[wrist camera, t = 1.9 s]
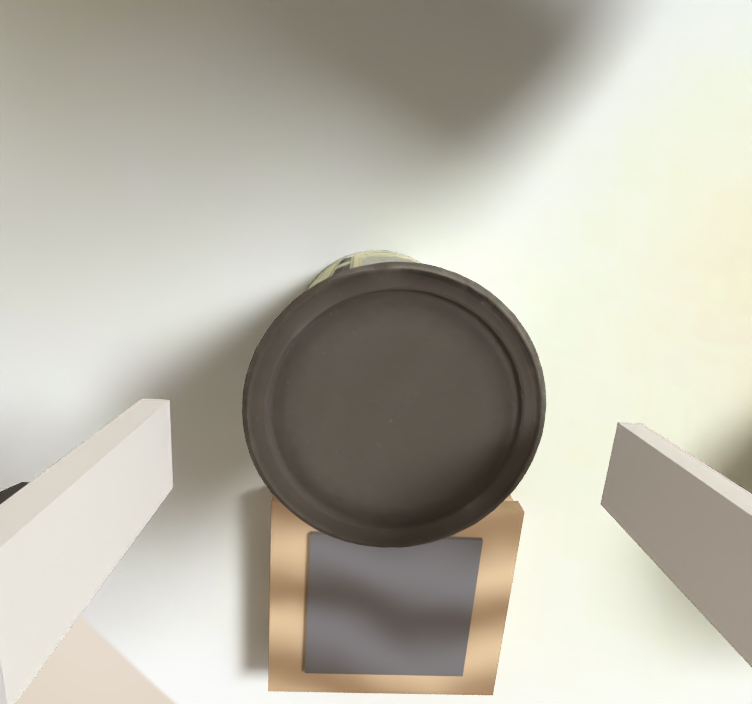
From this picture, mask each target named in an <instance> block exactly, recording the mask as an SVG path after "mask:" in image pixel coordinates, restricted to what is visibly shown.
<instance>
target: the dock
mask: <svg viewBox="0 0 752 704" xmlns="http://www.w3.org/2000/svg"><path fill="white" fill-rule="evenodd" d="M523 517H524V511H523V509H522V507H521V506H520V504H519V502H518V501H513V499H512V498H511V496H510V495H509V496H508V497H507V498H506V499H505V500H504V501H503V502H502V503H501V504H500V505H499V506H498V507H497V508H496V509H495V510H494V511H492V512H491V513H490V514H488V515H487V516H486V517H484V518H483V519H482V520H480V521H479V522H478V523H476V524H474V525H472V526H471V527H469V528H467V529H465V530H462V531H460V532H458V533H456V534H454V535H452V536H450V537H447V538H444V539H441V540H438V541H435V542H432V543H427V544H422V545H417V546H411V547H402V548H395V547H388V548H381V547H372V546H364V545H358V544H354V543H349V542H345V541H342V540H339V539H336V538H333V537H331V536H329V535H327V534H324V533H322V532H320V531H318V530H316V529H314V528H312V527H311V526H309V525H308V524H306V523H305V522H303V521H302V520H300V519H299V518H298V517H297V516H295V515H294V514H293V513H292V512H290V511H289V510H288V509H287V508H286V507H285V506H284V505H283V504H282V503H281V502H280V501H279V500H278V499H277V498H276V497H275V496H274V495H273V498H272V501H271V559H270V618H269V678H268V691H288V692H343V693H398V694H453V695H493V691H494V685H495V679H496V673H497V667H498V662H499V656H500V650H501V644H502V638H503V633H504V627H505V621H506V615H507V609H508V604H509V598H510V592H511V586H512V580H513V575H514V569H515V563H516V557H517V551H518V546H519V540H520V534H521V528H522V522H523Z"/></svg>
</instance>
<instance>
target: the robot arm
mask: <svg viewBox="0 0 752 704" xmlns="http://www.w3.org/2000/svg"><path fill="white" fill-rule="evenodd" d="M172 488H173V472H172V446H171V420H170V400H164V399H145V398H142V399H140V400H139V401H138V402H136V403H135V404H134V405H132V406H131V407H130V408H128V409H127V410H126V411H124V412H123V413H122V414H120V415H119V416H118V417H116V418H115V419H114V420H112V421H111V422H110V423H108V424H107V425H106V426H104V427H103V428H102V429H100V430H99V431H98V432H96V433H95V434H94V435H92V436H91V437H90V438H88V439H87V440H86V441H84V442H83V443H82V444H80V445H79V446H78V447H76V448H75V449H74V450H72V451H71V452H70V453H68V454H67V455H66V456H64V457H63V458H62V459H60V460H59V461H58V462H56V463H55V464H54V465H52V466H51V467H50V468H48V469H47V470H46V471H44V472H43V473H42V474H40V475H39V476H38V477H36V478H35V479H34V480H32V481H31V482H30V483H28V482H21V483H19V484H17V485H14V486H12V487H10V488H8V489H5V490H3V491H1V492H0V704H16V702H17V701H18V699H19V698H20V697H21V695H22V694H23V693H24V691H25V690H26V688H27V687H28V686H29V684H30V683H31V682H32V680H33V679H34V677H35V676H36V675H37V673H38V672H39V671H40V669H41V668H42V666H43V665H44V663H45V662H46V661H47V660H48V658H49V657H50V655H51V654H52V653H53V651H54V650H55V649H56V647H57V646H58V645H59V643H60V642H61V640H62V639H63V638H64V636H65V635H66V634H67V632H68V631H69V629H70V628H71V627H72V625H73V624H74V623H75V621H76V620H77V619H78V617H79V616H80V614H81V613H82V612H83V610H84V609H85V608H86V606H87V605H88V603H89V602H90V601H91V599H92V598H93V597H94V595H95V594H96V592H97V591H98V590H99V588H100V587H101V586H102V584H103V583H104V582H105V580H106V579H107V577H108V576H109V575H110V573H111V572H112V571H113V569H114V568H115V566H116V565H117V564H118V562H119V561H120V560H121V558H122V557H123V555H124V554H125V553H126V551H127V550H128V549H129V547H130V546H131V544H132V543H133V542H134V540H135V539H136V538H137V536H138V535H139V534H140V532H141V531H142V529H143V528H144V527H145V525H146V524H147V523H148V521H149V520H150V518H151V517H152V516H153V514H154V513H155V512H156V510H157V509H158V507H159V506H160V505H161V503H162V502H163V501H164V499H165V498H166V497H167V495H168V494H169V492H170V491H171V490H172ZM601 505H602V506H603V507H604V508H605V509H606V511H607V512H608V513H609V514H610V515H611V516H612V517H613V518H614V519H615V520H616V521H617V522H618V523H619V525H620V526H621V527H622V528H623V529H624V530H625V531H626V532H627V533H628V534H629V535H630V536H631V537H632V539H633V540H634V541H635V542H636V543H637V544H638V545H639V546H640V547H641V548H642V549H643V550H644V552H645V553H646V554H647V555H648V556H649V557H650V558H651V559H652V560H653V561H654V562H655V563H656V564H657V566H658V567H659V568H660V569H661V570H662V571H663V572H664V573H665V574H666V575H667V576H668V577H669V579H670V580H671V581H672V582H673V583H674V584H675V585H676V586H677V587H678V588H679V589H680V590H681V591H682V593H683V594H684V595H685V596H686V597H687V598H688V599H689V600H690V601H691V602H692V603H693V604H694V606H695V607H696V608H697V609H698V610H699V611H700V612H701V613H702V614H703V615H704V616H705V617H706V618H707V620H708V621H709V622H710V623H711V624H712V625H713V626H714V627H715V628H716V629H717V630H718V631H719V633H720V634H721V635H722V636H723V637H724V638H725V639H726V640H727V641H728V642H729V643H730V644H731V645H732V647H733V648H734V649H735V650H736V651H737V652H738V653H739V654H740V655H741V656H742V657H743V658H744V659H745V661H746V662H747V663H748V664H749V665H750V666H751V667H752V494H751V493H750V492H748V491H746V490H745V489H743V488H742V487H740V486H739V485H737V484H736V483H734V482H732V481H731V480H729V479H728V478H726V477H725V476H723V475H722V474H720V473H718V472H717V471H715V470H714V469H712V468H711V467H709V466H708V465H706V464H704V463H703V462H701V461H700V460H698V459H697V458H695V457H694V456H692V455H690V454H689V453H687V452H686V451H684V450H683V449H681V448H680V447H678V446H676V445H675V444H673V443H672V442H670V441H669V440H667V439H666V438H664V437H662V436H661V435H659V434H658V433H656V432H655V431H653V430H652V429H650V428H648V427H647V426H645V425H644V424H640V423H620V422H618V424H617V429H616V434H615V438H614V443H613V448H612V453H611V457H610V462H609V467H608V472H607V476H606V481H605V486H604V491H603V495H602V500H601Z"/></svg>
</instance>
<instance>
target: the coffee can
mask: <svg viewBox="0 0 752 704" xmlns="http://www.w3.org/2000/svg"><path fill="white" fill-rule="evenodd" d="M545 412H546V390H545V382H544V376H543V371H542V367H541V364H540V361H539V357H538V355H537V352H536V349H535V347H534V345H533V343H532V341H531V339H530V337H529V335H528V333H527V332H526V330H525V329H524V327H523V326H522V325H521V323H520V322H519V320H518V319H517V318H516V316H515V315H514V314H513V313H512V312H511V311H510V310H509V309H508V308H507V307H506V306H505V305H504V304H503V303H502V302H501V301H500V300H499V299H498V298H497V297H496V296H494V295H493V294H492V293H491V292H490V291H488V290H487V289H485V288H484V287H482V286H481V285H479V284H477V283H476V282H474V281H472V280H470V279H468V278H466V277H463V276H461V275H459V274H457V273H454V272H451V271H448V270H445V269H443V268H439V267H436V266H431V265H427V264H421V263H420V262H418V261H417V260H415V259H413V258H410V257H408V256H405V255H403V254H399V253H395V252H391V251H385V250H381V251H374V250H371V251H364V252H358V253H354V254H351V255H348V256H346V257H344V258H342V259H340V260H338V261H336V262H334V263H332V264H331V265H330V266H328V267H327V268H325V269H324V271H322V272H321V273H320V274H319V275H318V276H317V277H316V279H315V280H314V281H313V282H312V284H311V285H310V286H309V288H308V290H307V291H306V292H304V293H303V294H302V295H300V296H299V297H298V298H296V299H295V300H294V301H293V302H292V303H291V304H290V305H289V306H288V307H287V308H285V310H284V311H283V312H282V313H281V314H280V315H279V316H278V317H277V318H276V319H275V321H274V322H273V323H272V325H271V326H270V327H269V329H268V330H267V332H266V333H265V335H264V336H263V338H262V340H261V341H260V343H259V345H258V346H257V348H256V350H255V353H254V355H253V358H252V360H251V363H250V366H249V369H248V372H247V375H246V379H245V384H244V390H243V408H242V414H243V426H244V432H245V438H246V442H247V446H248V449H249V453H250V456H251V458H252V460H253V463H254V465H255V467H256V469H257V471H258V473H259V475H260V477H261V478H262V480H263V482H264V483H265V484H266V485H267V487H268V488H269V489H270V491H271V492H272V493H273V495H274V496H275V497H276V498H277V499H278V500H279V501H280V502H281V503H282V504H283V505H284V506H285V507H286V508H287V509H288V510H289V511H290V512H292V513H293V514H294V515H295V516H297V517H298V518H299V519H300V520H302V521H303V522H305V523H306V524H308V525H309V526H311V527H312V528H314V529H316V530H318V531H320V532H322V533H324V534H327V535H329V536H331V537H333V538H336V539H339V540H342V541H345V542H349V543H354V544H358V545H364V546H372V547H381V548H388V547H395V548H402V547H411V546H417V545H422V544H427V543H432V542H435V541H438V540H441V539H444V538H447V537H450V536H452V535H454V534H456V533H458V532H460V531H462V530H465V529H467V528H469V527H471V526H472V525H474V524H476V523H478V522H479V521H480V520H482V519H483V518H484V517H486V516H487V515H488V514H490V513H491V512H492V511H494V510H495V509H496V508H497V507H498V506H499V505H500V504H501V503H502V502H503V501H504V500H505V499H506V498H507V497H508V496H509V495H510V494H511V493H512V492H513V491H514V489H515V488H516V487H517V485H518V484H519V482H520V481H521V480H522V478H523V477H524V475H525V474H526V472H527V470H528V468H529V466H530V465H531V463H532V461H533V458H534V456H535V453H536V451H537V448H538V445H539V443H540V440H541V436H542V433H543V427H544V421H545Z"/></svg>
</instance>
